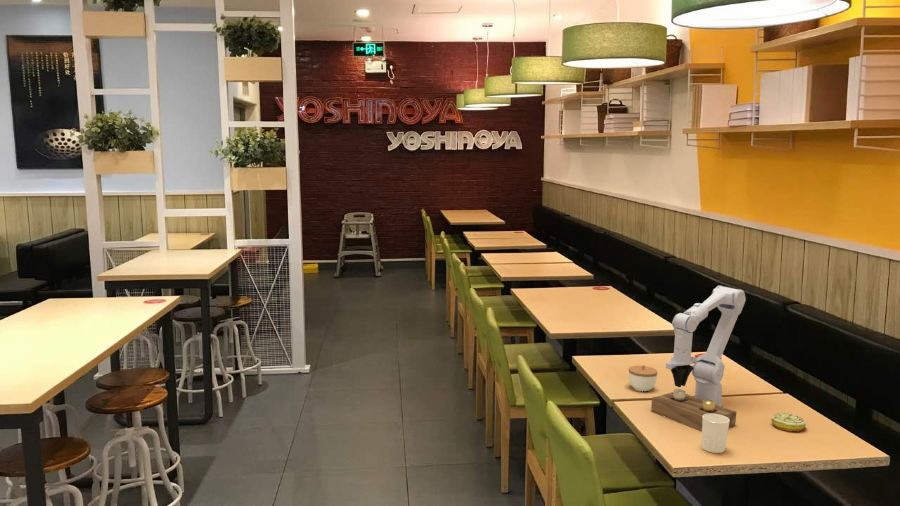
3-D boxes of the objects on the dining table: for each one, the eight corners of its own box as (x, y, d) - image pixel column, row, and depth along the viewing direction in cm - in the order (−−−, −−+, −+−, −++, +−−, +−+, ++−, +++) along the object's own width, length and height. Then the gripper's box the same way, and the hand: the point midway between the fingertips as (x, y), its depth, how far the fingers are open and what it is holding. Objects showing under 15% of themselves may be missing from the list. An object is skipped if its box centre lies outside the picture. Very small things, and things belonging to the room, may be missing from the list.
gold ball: (706, 411, 251) (707, 398, 250) (716, 414, 248) (717, 402, 247) (699, 413, 249) (700, 400, 248) (709, 417, 245) (710, 404, 245)
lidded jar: (623, 389, 282) (624, 366, 280) (633, 382, 290) (635, 359, 289) (650, 395, 276) (652, 371, 274) (660, 388, 284) (661, 365, 283)
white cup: (695, 443, 232) (698, 413, 230) (719, 443, 233) (722, 413, 231) (706, 454, 224) (709, 423, 223) (731, 454, 225) (734, 422, 223)
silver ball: (677, 400, 261) (678, 388, 260) (687, 404, 257) (687, 391, 257) (670, 402, 258) (671, 390, 258) (679, 406, 255) (680, 393, 254)
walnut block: (676, 404, 267) (677, 390, 267) (735, 425, 248) (736, 411, 247) (651, 411, 259) (652, 397, 259) (709, 434, 240) (710, 419, 239)
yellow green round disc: (809, 427, 249) (810, 416, 248) (799, 436, 241) (800, 425, 240) (777, 419, 256) (778, 408, 255) (766, 427, 248) (767, 416, 247)
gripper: (686, 342, 262) (683, 379, 264) (659, 348, 254) (657, 386, 256) (703, 347, 257) (700, 384, 259) (676, 353, 248) (673, 391, 250)
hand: (679, 385), depth 257 cm, fingers closed
